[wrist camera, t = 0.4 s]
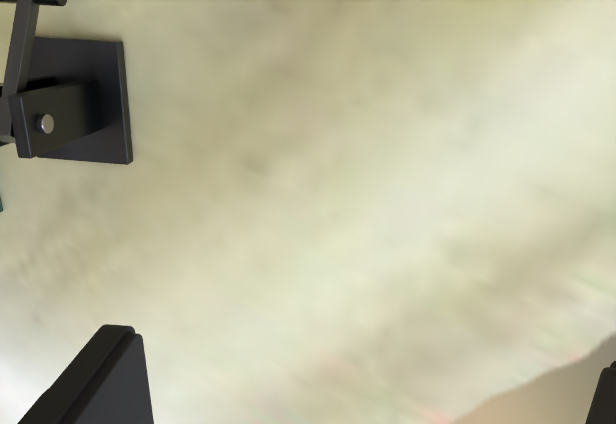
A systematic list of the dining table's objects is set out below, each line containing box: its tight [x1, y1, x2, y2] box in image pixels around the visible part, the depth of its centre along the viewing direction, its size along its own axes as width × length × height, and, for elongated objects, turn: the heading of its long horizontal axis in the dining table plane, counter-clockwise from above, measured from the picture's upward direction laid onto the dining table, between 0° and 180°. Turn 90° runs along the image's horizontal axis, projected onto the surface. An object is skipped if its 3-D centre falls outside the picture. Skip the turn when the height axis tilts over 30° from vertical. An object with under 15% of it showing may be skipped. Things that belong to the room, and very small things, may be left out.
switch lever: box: [0, 0, 67, 143], centre depth 35 cm, size 12×5×2 cm, turn 175°
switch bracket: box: [0, 36, 133, 165], centre depth 38 cm, size 11×9×12 cm
